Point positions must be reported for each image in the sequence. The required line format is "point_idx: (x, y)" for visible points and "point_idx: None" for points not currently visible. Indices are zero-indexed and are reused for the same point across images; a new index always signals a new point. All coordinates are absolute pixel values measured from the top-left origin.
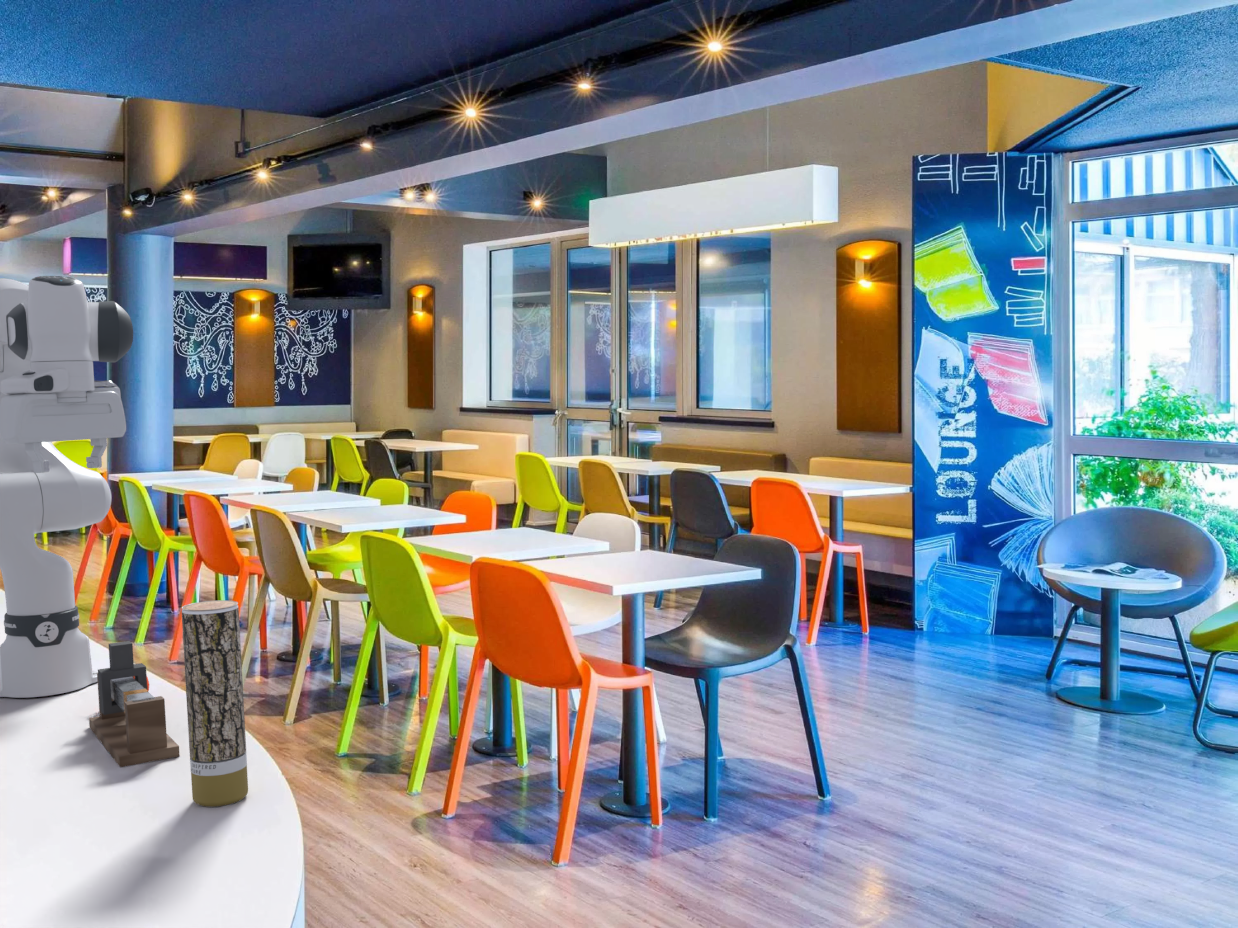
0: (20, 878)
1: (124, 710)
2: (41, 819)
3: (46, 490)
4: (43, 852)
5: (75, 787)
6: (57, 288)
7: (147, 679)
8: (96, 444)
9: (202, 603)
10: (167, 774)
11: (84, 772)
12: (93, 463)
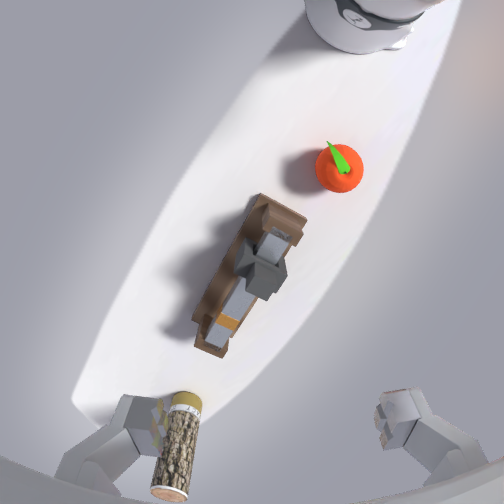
0: (81, 383)
1: (222, 303)
2: (112, 343)
3: None
4: (96, 374)
5: (150, 320)
6: None
7: (353, 188)
8: (431, 477)
9: (169, 491)
10: (200, 352)
11: (171, 300)
12: (380, 426)
